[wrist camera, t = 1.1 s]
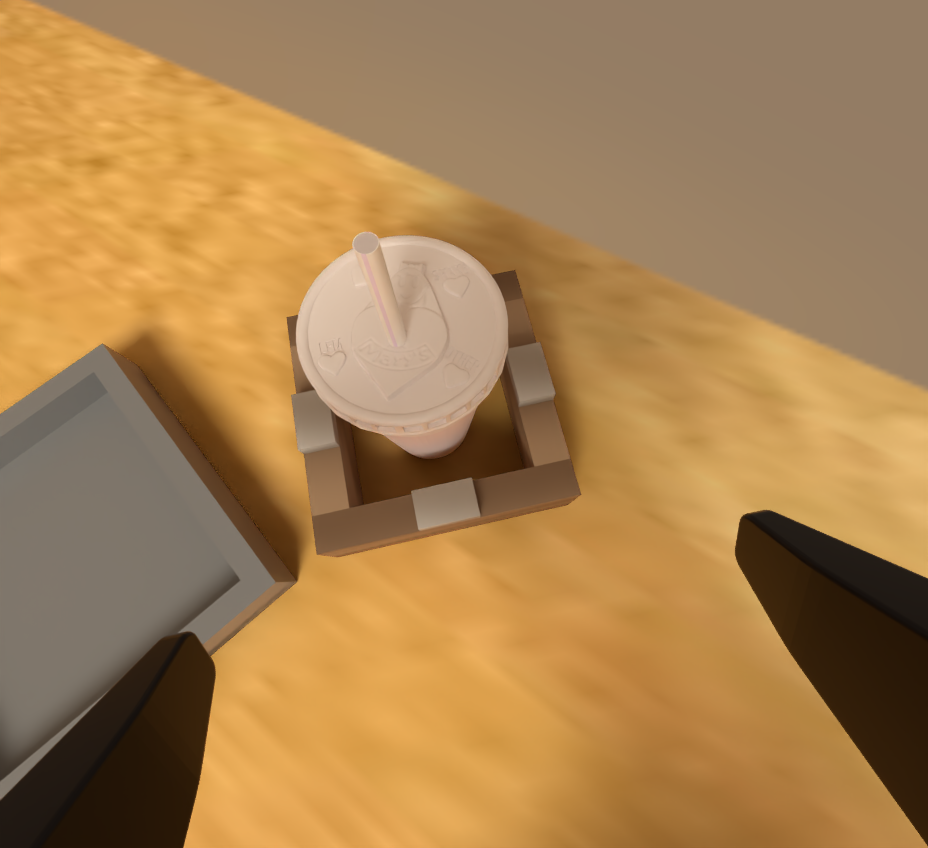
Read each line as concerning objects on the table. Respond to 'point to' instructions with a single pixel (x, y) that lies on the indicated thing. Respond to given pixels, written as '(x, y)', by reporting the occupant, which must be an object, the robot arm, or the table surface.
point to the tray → (109, 548)
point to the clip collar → (450, 504)
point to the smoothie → (404, 339)
